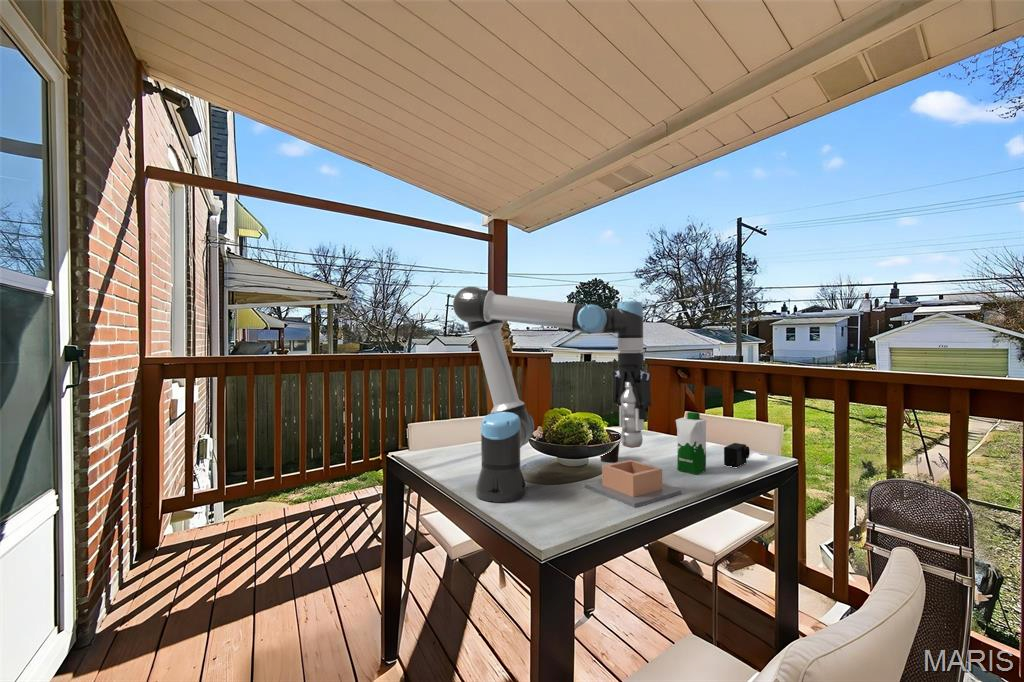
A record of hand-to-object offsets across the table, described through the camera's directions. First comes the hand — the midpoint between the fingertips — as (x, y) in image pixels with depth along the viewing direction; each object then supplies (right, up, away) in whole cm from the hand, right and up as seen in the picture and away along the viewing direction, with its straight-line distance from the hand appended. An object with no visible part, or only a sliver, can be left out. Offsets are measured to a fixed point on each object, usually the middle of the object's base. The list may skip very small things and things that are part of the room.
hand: (631, 428), depth 130 cm
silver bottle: (0, -6, 0) cm, 6 cm away
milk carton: (+27, -19, +20) cm, 38 cm away
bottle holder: (0, -19, 0) cm, 19 cm away
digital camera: (+46, -19, +27) cm, 57 cm away
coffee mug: (+2, -20, +35) cm, 40 cm away
